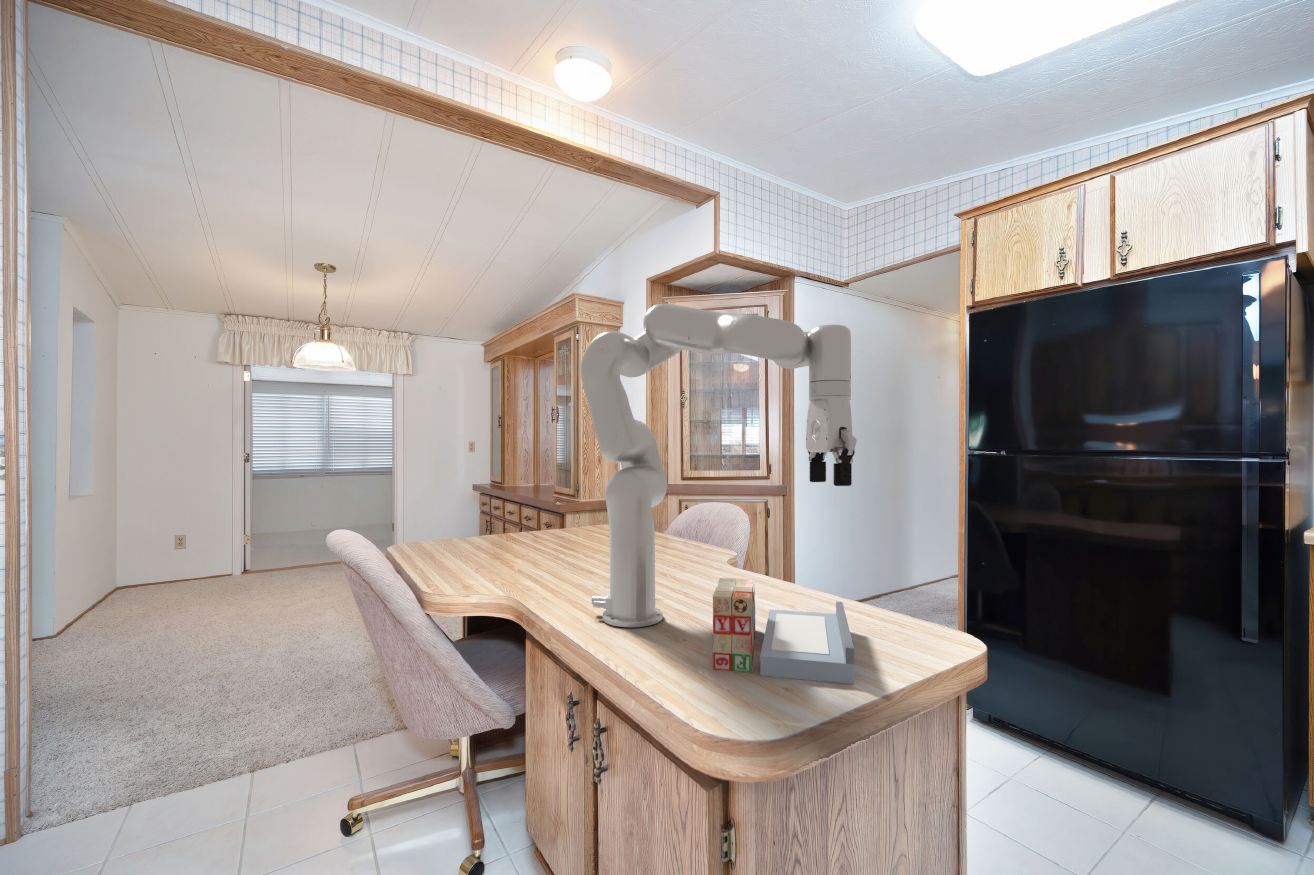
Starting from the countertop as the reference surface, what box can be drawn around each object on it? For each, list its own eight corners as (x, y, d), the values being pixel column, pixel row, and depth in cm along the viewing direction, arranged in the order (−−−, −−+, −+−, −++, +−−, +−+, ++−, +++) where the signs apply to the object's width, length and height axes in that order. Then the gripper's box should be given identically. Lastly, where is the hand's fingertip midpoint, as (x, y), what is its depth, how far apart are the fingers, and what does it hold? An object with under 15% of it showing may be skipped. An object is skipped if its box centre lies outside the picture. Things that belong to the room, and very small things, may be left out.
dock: (760, 675, 89) (760, 640, 89) (769, 624, 114) (769, 597, 114) (854, 684, 86) (854, 648, 86) (842, 629, 111) (842, 601, 111)
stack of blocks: (723, 628, 112) (723, 566, 112) (755, 630, 111) (755, 567, 111) (712, 671, 91) (712, 594, 91) (752, 674, 90) (751, 596, 90)
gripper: (792, 395, 114) (791, 480, 114) (833, 387, 97) (832, 487, 97) (826, 396, 115) (826, 480, 115) (873, 388, 98) (873, 487, 98)
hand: (829, 483), depth 106 cm, fingers open, 9 cm apart
